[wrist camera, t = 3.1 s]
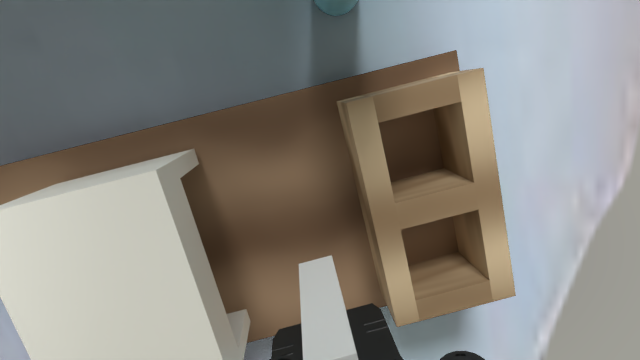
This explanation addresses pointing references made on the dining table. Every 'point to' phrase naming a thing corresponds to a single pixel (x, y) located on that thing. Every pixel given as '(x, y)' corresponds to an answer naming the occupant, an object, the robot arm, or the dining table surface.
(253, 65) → the dining table surface
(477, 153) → the board
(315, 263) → the robot arm
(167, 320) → the cover
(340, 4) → the peg
